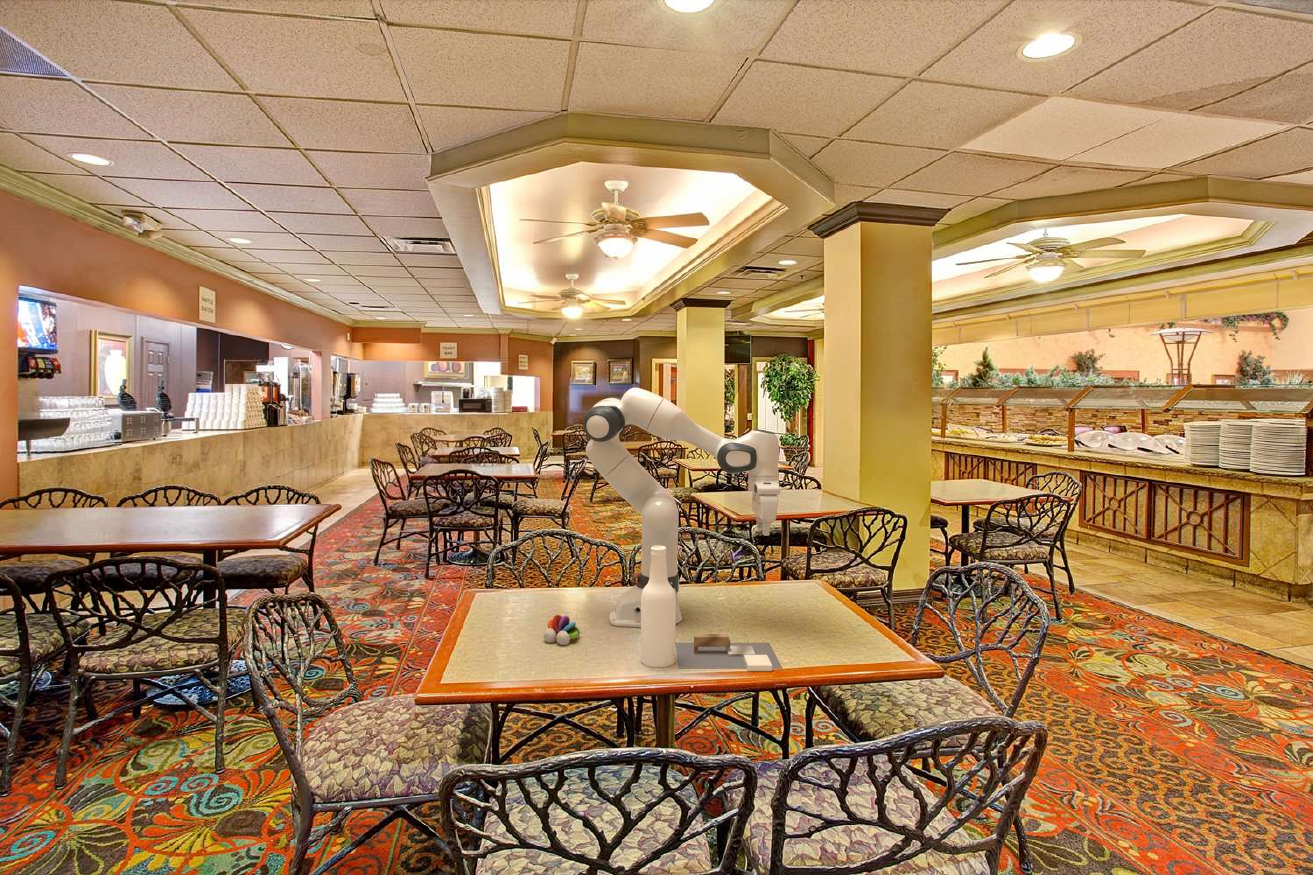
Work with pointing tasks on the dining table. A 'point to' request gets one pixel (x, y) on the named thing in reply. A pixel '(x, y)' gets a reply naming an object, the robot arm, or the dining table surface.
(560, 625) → the multicoloured ball cluster
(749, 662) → the tile
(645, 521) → the robot arm
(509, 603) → the dining table surface
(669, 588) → the alcohol
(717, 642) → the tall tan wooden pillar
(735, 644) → the mat
